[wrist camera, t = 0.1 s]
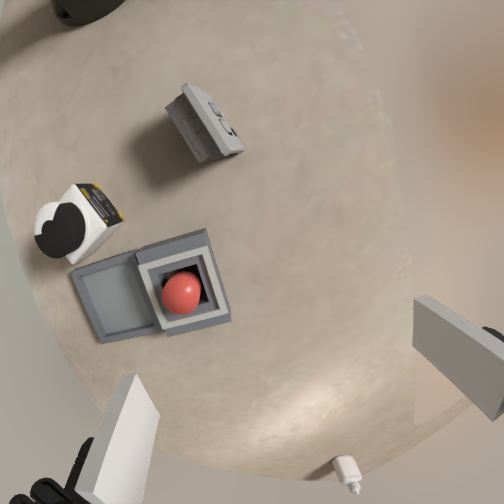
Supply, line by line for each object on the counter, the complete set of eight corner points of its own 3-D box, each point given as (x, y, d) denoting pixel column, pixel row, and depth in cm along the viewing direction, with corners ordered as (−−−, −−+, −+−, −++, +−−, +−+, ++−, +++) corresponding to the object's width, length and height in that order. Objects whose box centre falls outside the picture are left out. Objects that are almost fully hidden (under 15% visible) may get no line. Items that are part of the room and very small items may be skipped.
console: (75, 268, 37) (61, 278, 32) (205, 228, 38) (203, 233, 33) (105, 338, 40) (95, 353, 35) (230, 308, 41) (231, 323, 36)
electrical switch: (246, 150, 36) (246, 143, 27) (212, 170, 37) (201, 170, 28) (210, 94, 34) (199, 71, 25) (177, 114, 34) (157, 98, 26)
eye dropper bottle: (345, 450, 52) (361, 487, 40) (354, 457, 53) (370, 491, 41) (329, 460, 52) (343, 497, 40) (339, 466, 53) (354, 500, 42)
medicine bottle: (126, 220, 36) (88, 235, 25) (94, 253, 37) (52, 278, 25) (96, 182, 35) (51, 183, 23) (66, 216, 35) (18, 229, 24)
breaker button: (162, 275, 35) (156, 284, 32) (195, 266, 35) (192, 275, 32) (174, 305, 36) (169, 318, 33) (205, 297, 36) (204, 309, 33)
